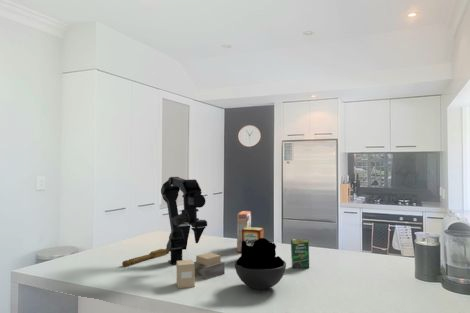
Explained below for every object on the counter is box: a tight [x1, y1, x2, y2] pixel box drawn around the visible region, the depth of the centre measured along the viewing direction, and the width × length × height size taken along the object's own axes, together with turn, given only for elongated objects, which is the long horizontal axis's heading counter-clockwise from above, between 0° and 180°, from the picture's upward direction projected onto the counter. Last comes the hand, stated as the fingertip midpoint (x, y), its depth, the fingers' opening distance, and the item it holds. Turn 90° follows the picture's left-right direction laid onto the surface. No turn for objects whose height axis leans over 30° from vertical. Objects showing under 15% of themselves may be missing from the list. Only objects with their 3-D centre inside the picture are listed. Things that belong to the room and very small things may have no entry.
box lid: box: [195, 252, 222, 266], centre depth 155 cm, size 8×8×3 cm
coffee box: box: [290, 238, 310, 269], centre depth 164 cm, size 8×3×13 cm, turn 92°
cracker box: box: [236, 210, 252, 253], centre depth 199 cm, size 14×6×21 cm, turn 168°
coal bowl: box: [234, 237, 287, 291], centre depth 138 cm, size 20×20×19 cm
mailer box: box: [176, 259, 196, 289], centre depth 142 cm, size 6×6×9 cm
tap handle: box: [121, 247, 170, 268], centre depth 179 cm, size 3×3×30 cm
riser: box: [193, 261, 226, 280], centre depth 155 cm, size 10×10×5 cm
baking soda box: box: [242, 226, 265, 246], centre depth 178 cm, size 10×6×16 cm
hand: (191, 242), depth 158 cm, fingers open, 9 cm apart
